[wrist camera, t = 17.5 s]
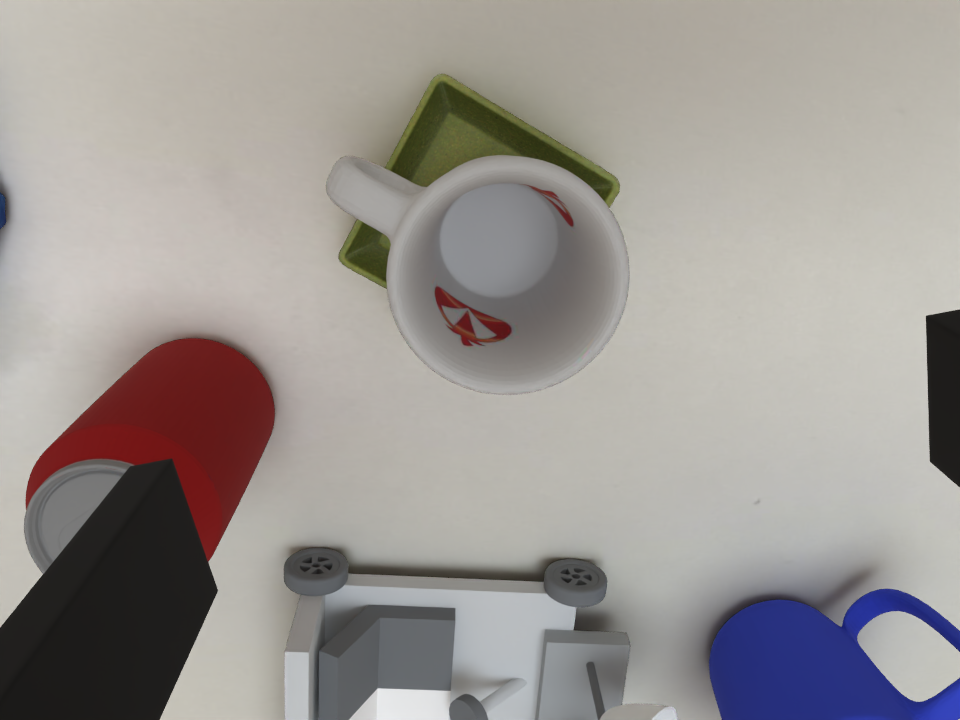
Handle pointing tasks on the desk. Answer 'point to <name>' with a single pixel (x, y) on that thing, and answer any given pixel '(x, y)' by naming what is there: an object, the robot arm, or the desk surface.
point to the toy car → (451, 647)
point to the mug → (817, 664)
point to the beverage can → (157, 442)
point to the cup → (495, 267)
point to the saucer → (461, 158)
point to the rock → (2, 211)
